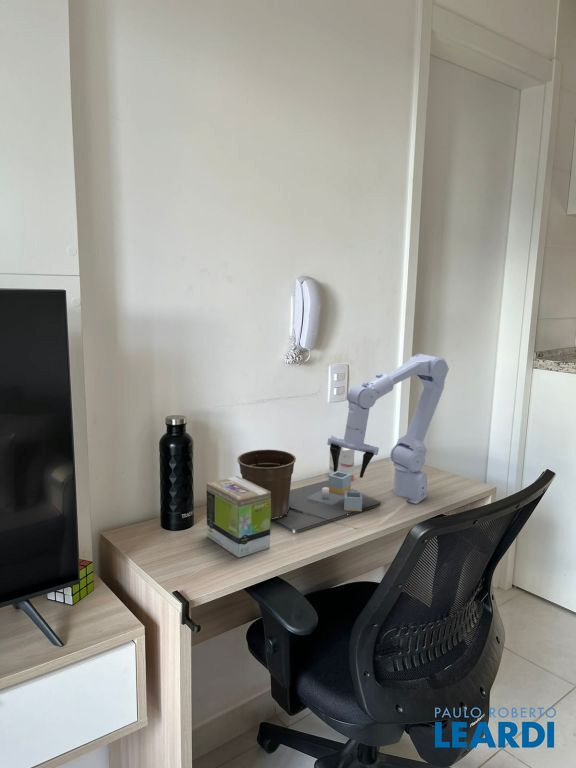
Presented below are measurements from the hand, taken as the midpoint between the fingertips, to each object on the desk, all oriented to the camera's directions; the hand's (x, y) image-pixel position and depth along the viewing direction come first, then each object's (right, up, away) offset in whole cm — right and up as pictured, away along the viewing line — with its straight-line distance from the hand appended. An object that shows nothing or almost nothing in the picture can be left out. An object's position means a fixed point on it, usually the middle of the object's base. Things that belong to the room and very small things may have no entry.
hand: (348, 474), depth 166 cm
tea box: (-30, -14, -20) cm, 39 cm away
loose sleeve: (+1, -11, 0) cm, 11 cm away
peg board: (-4, -9, +10) cm, 14 cm away
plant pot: (-23, -11, -2) cm, 26 cm away
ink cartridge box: (0, -6, +25) cm, 26 cm away
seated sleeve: (-1, -7, +13) cm, 15 cm away
